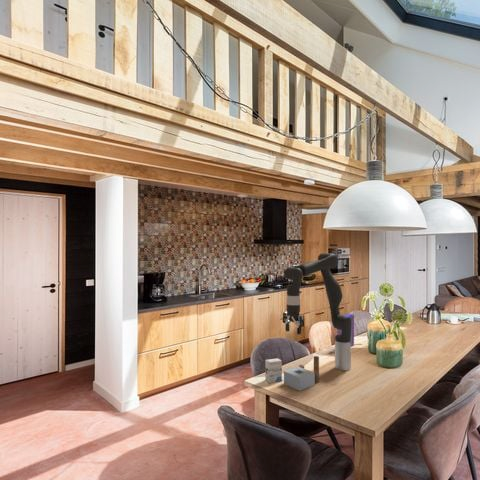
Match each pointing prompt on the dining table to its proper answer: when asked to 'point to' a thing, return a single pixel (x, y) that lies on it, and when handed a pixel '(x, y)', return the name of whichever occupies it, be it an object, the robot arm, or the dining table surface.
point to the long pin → (316, 368)
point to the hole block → (299, 378)
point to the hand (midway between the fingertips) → (293, 332)
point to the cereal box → (351, 329)
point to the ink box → (273, 370)
